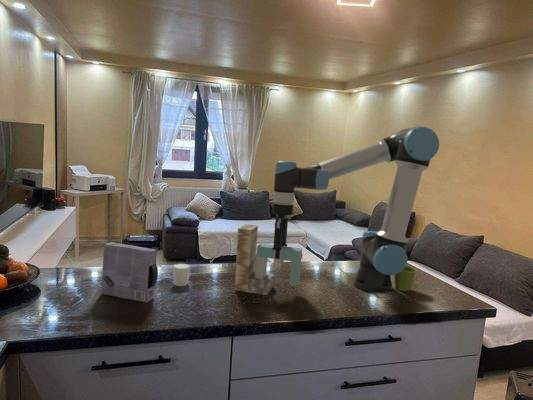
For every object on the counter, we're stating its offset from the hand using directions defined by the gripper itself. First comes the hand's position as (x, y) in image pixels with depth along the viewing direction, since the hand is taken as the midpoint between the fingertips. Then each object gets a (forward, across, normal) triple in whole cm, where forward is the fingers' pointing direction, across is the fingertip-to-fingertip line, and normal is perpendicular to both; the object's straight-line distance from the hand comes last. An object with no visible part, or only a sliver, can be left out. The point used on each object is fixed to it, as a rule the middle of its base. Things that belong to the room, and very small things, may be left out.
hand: (278, 264), depth 145 cm
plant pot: (+11, -24, +48) cm, 54 cm away
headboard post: (+11, 0, -9) cm, 14 cm away
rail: (+6, 0, 0) cm, 6 cm away
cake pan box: (+11, +25, -46) cm, 54 cm away
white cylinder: (+11, +6, -36) cm, 38 cm away
